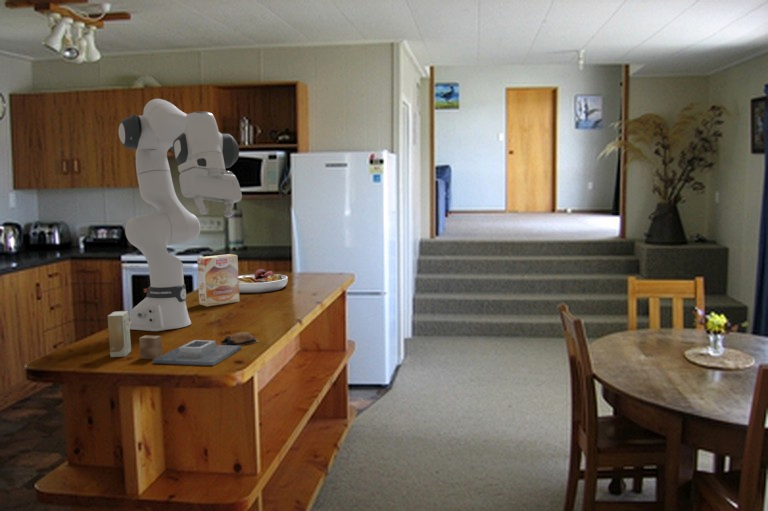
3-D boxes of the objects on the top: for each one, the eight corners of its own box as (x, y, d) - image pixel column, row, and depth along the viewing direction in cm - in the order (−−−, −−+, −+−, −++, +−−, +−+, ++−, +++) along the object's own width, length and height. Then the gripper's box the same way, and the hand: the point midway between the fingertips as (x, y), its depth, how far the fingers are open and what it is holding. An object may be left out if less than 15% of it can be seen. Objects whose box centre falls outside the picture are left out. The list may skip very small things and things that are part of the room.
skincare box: (116, 352, 198) (113, 311, 196) (131, 351, 198) (129, 310, 197) (109, 357, 191) (106, 315, 190) (125, 357, 192) (122, 314, 190)
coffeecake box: (206, 306, 268) (204, 258, 265) (198, 304, 273) (196, 256, 271) (240, 301, 277) (238, 254, 275) (231, 299, 283) (229, 253, 281)
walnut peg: (140, 358, 190) (139, 337, 189) (146, 355, 193) (145, 335, 192) (156, 359, 189) (155, 338, 188) (162, 356, 192) (160, 335, 191)
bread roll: (252, 339, 213) (251, 327, 212) (260, 344, 205) (260, 332, 205) (219, 343, 207) (218, 332, 207) (226, 349, 200) (226, 337, 200)
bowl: (282, 293, 296) (281, 276, 295) (214, 295, 297) (213, 277, 296) (292, 283, 326) (291, 267, 325) (231, 284, 326) (230, 268, 325)
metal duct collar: (152, 363, 184) (151, 351, 184) (185, 347, 201) (184, 335, 201) (213, 365, 180) (212, 353, 180) (241, 349, 198) (240, 337, 197)
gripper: (226, 175, 196) (234, 220, 195) (172, 165, 179) (180, 215, 177) (242, 168, 193) (250, 215, 192) (189, 158, 176) (197, 209, 174)
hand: (216, 215), depth 184 cm, fingers open, 8 cm apart
